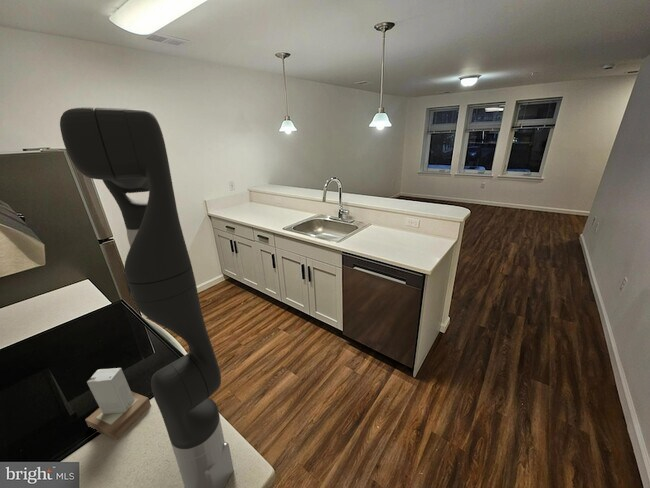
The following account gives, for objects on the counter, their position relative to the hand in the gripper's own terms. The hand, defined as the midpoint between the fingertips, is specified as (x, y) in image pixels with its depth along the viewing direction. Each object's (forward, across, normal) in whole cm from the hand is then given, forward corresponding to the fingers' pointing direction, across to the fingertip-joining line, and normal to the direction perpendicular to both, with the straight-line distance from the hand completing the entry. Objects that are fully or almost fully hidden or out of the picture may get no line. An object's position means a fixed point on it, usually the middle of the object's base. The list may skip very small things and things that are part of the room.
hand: (160, 295), depth 75 cm
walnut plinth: (+30, -16, +5) cm, 34 cm away
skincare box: (+27, -16, +5) cm, 32 cm away
